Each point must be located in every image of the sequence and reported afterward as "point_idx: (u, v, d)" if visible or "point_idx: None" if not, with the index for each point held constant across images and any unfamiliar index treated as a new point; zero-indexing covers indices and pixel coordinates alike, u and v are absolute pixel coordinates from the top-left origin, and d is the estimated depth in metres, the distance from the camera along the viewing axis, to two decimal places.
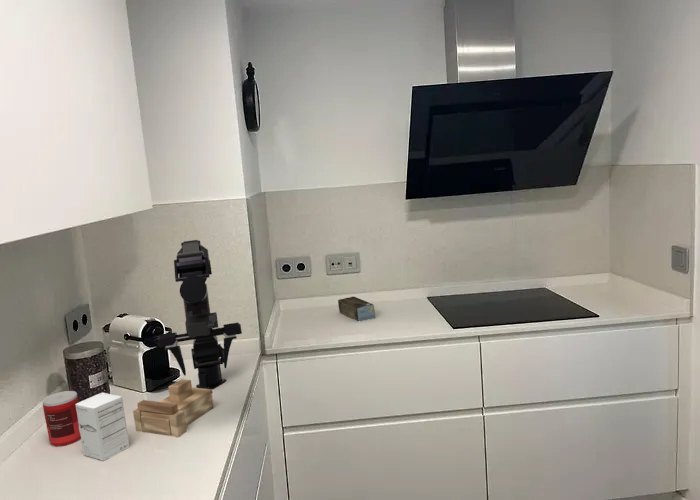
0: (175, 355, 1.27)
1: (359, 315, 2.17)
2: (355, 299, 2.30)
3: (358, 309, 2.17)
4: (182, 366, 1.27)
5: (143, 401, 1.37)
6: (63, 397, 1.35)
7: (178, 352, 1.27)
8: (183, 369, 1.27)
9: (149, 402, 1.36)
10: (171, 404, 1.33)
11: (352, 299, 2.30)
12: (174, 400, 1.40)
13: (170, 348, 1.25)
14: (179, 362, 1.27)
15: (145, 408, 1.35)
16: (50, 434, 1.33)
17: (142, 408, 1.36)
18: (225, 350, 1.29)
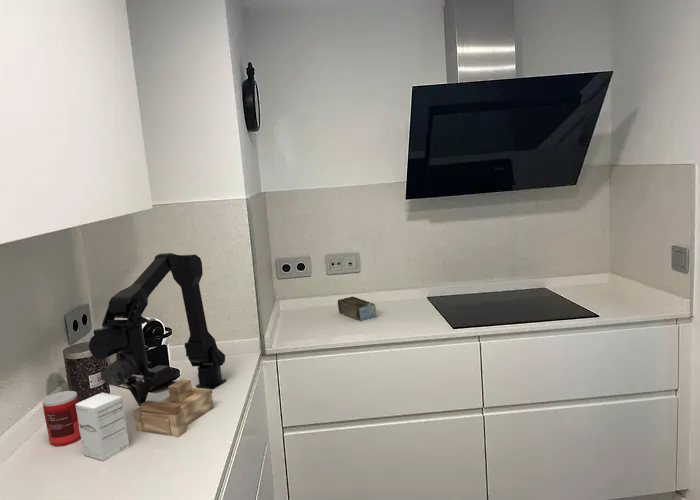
0: (129, 388, 1.36)
1: (360, 315, 2.18)
2: (355, 299, 2.30)
3: (360, 309, 2.17)
4: (136, 399, 1.36)
5: (146, 401, 1.36)
6: (63, 397, 1.35)
7: (130, 387, 1.35)
8: (137, 401, 1.36)
9: (152, 403, 1.35)
10: (175, 404, 1.33)
11: (352, 299, 2.30)
12: (174, 400, 1.40)
13: (121, 383, 1.35)
14: (133, 395, 1.36)
15: (148, 408, 1.35)
16: (50, 434, 1.33)
17: (145, 408, 1.35)
18: (137, 392, 1.35)
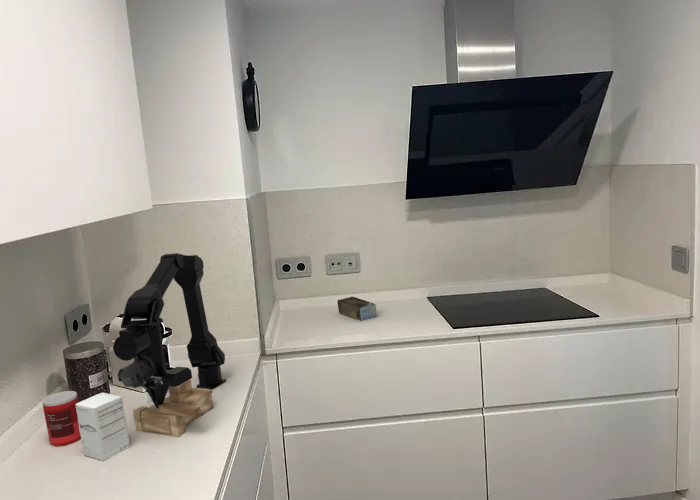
0: (147, 390, 1.33)
1: (361, 314, 2.18)
2: (355, 299, 2.30)
3: (360, 309, 2.17)
4: (154, 401, 1.34)
5: (164, 403, 1.34)
6: (63, 397, 1.35)
7: (148, 389, 1.33)
8: (155, 403, 1.34)
9: (171, 405, 1.33)
10: (194, 407, 1.30)
11: (352, 299, 2.30)
12: (174, 400, 1.40)
13: (139, 385, 1.32)
14: (151, 397, 1.34)
15: (167, 411, 1.32)
16: (50, 434, 1.33)
17: (164, 411, 1.33)
18: (155, 394, 1.33)
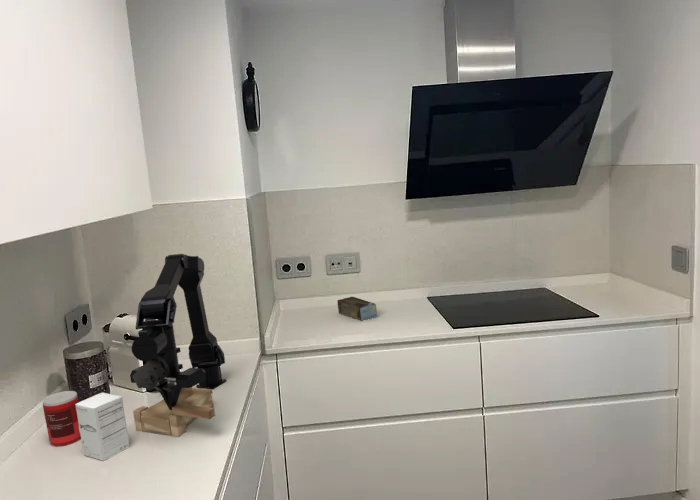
0: (160, 392, 1.32)
1: (361, 314, 2.18)
2: (355, 299, 2.30)
3: (361, 309, 2.17)
4: (167, 402, 1.32)
5: (178, 405, 1.32)
6: (63, 397, 1.35)
7: (161, 390, 1.31)
8: (168, 405, 1.32)
9: (184, 406, 1.31)
10: (208, 408, 1.28)
11: (352, 299, 2.30)
12: None
13: None
14: (164, 398, 1.32)
15: (180, 412, 1.30)
16: (50, 434, 1.33)
17: (177, 412, 1.31)
18: (168, 395, 1.31)
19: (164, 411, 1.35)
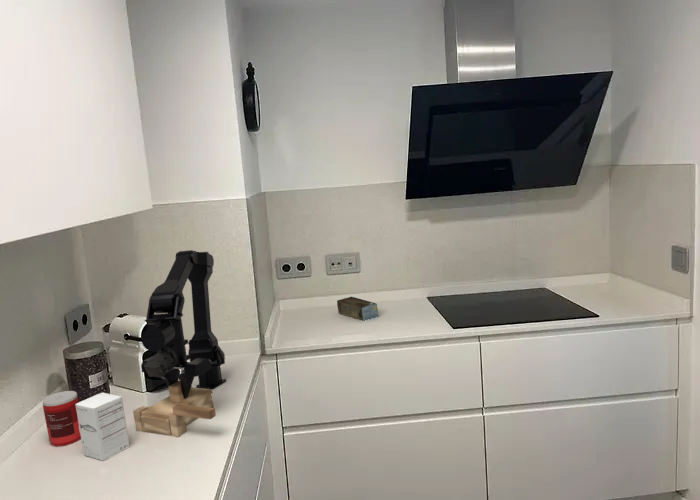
0: (164, 380, 1.41)
1: (363, 314, 2.18)
2: (355, 299, 2.30)
3: (362, 308, 2.17)
4: None
5: (178, 405, 1.32)
6: (63, 397, 1.35)
7: (166, 378, 1.41)
8: None
9: (185, 406, 1.31)
10: (208, 408, 1.28)
11: (352, 299, 2.30)
12: (174, 400, 1.40)
13: None
14: None
15: (181, 412, 1.30)
16: (50, 434, 1.33)
17: (178, 412, 1.31)
18: (181, 384, 1.39)
19: (164, 411, 1.35)
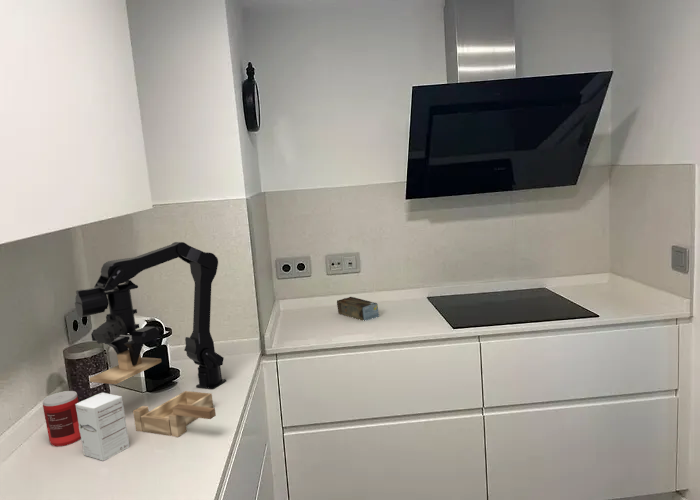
0: (114, 348, 1.47)
1: (364, 314, 2.18)
2: (355, 299, 2.30)
3: (363, 308, 2.18)
4: None
5: (178, 405, 1.32)
6: (63, 397, 1.35)
7: (115, 346, 1.46)
8: None
9: (185, 406, 1.31)
10: (208, 408, 1.28)
11: (352, 299, 2.30)
12: (122, 367, 1.46)
13: (107, 343, 1.46)
14: None
15: (181, 412, 1.30)
16: (50, 434, 1.33)
17: (178, 412, 1.31)
18: (130, 352, 1.45)
19: (111, 377, 1.40)
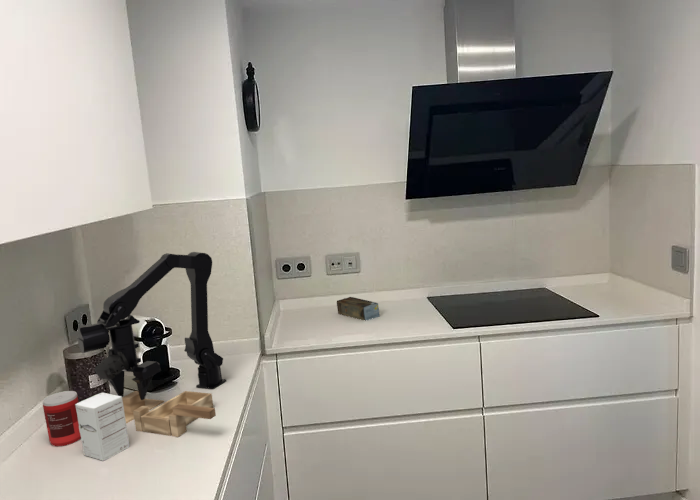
0: (110, 381, 1.50)
1: (365, 314, 2.18)
2: (355, 299, 2.30)
3: (364, 308, 2.18)
4: (116, 390, 1.50)
5: (178, 405, 1.32)
6: (63, 397, 1.35)
7: (111, 380, 1.50)
8: (117, 393, 1.51)
9: (185, 406, 1.31)
10: (208, 408, 1.28)
11: (352, 299, 2.30)
12: (126, 411, 1.48)
13: None
14: (114, 387, 1.50)
15: (181, 412, 1.30)
16: (50, 434, 1.33)
17: (178, 412, 1.31)
18: (138, 387, 1.46)
19: None
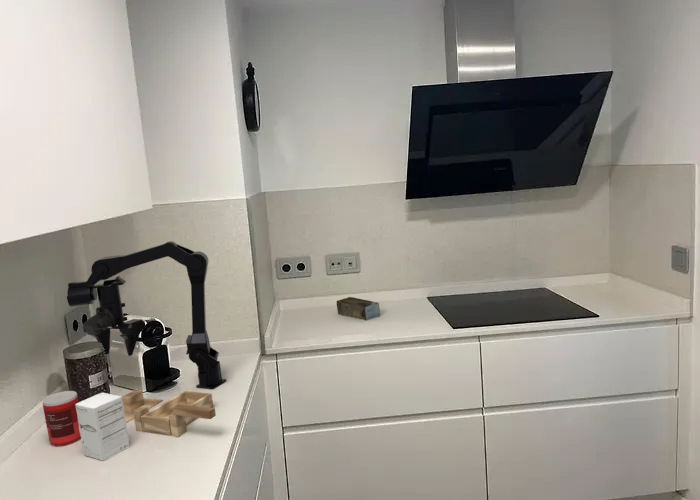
0: None
1: (366, 314, 2.18)
2: (355, 299, 2.30)
3: (366, 308, 2.18)
4: None
5: (178, 405, 1.32)
6: (63, 397, 1.35)
7: (97, 337, 1.59)
8: None
9: (185, 406, 1.31)
10: (208, 408, 1.28)
11: (352, 299, 2.30)
12: (125, 410, 1.49)
13: (90, 334, 1.58)
14: None
15: (181, 412, 1.30)
16: (50, 434, 1.33)
17: (178, 412, 1.31)
18: (126, 343, 1.55)
19: None
